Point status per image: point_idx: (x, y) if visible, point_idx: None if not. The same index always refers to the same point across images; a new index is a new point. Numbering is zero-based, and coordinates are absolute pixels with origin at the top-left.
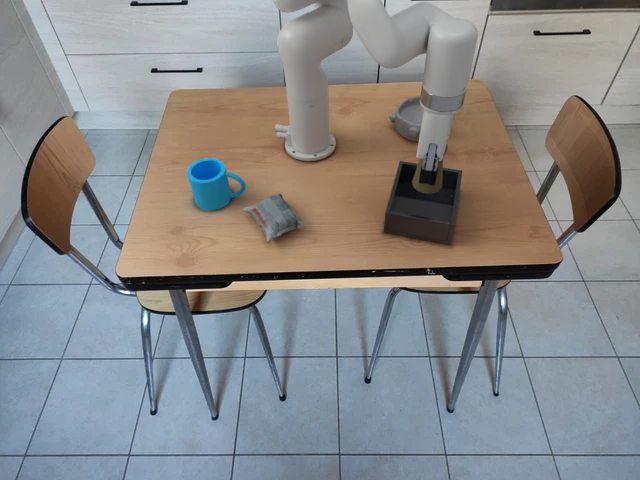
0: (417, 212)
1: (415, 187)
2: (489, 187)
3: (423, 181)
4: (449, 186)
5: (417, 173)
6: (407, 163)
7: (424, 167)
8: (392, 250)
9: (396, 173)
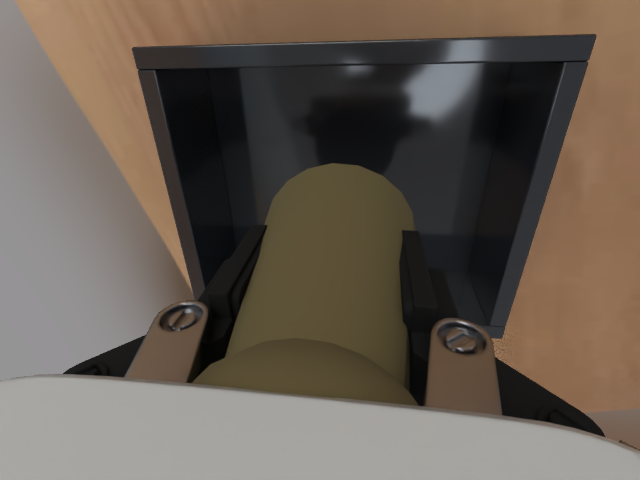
0: (320, 163)
1: (282, 188)
2: (497, 350)
3: (225, 262)
4: (472, 260)
5: (284, 223)
6: (563, 92)
7: (78, 370)
8: (138, 100)
9: (458, 39)
